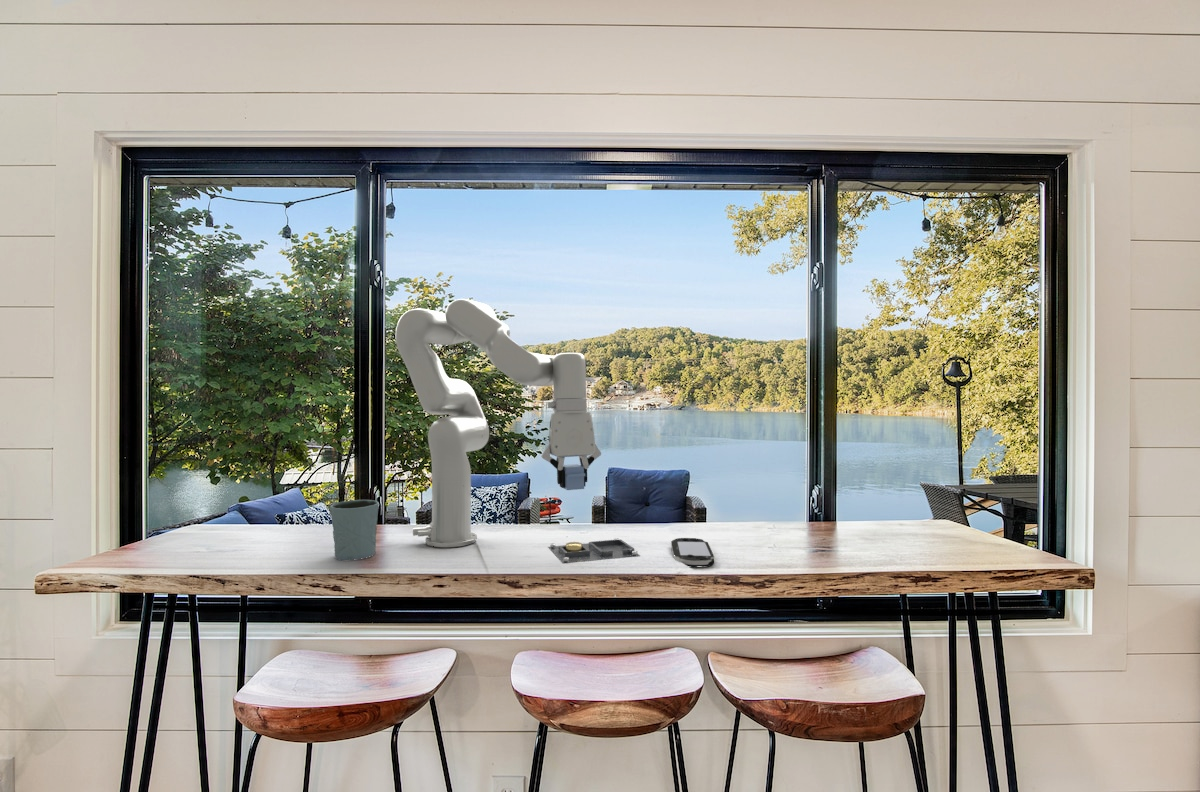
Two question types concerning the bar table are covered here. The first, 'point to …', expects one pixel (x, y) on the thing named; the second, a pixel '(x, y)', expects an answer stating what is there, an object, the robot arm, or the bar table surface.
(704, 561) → the gaming console
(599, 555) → the plate
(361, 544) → the grey-green cup
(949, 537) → the bar table surface
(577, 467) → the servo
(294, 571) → the bar table surface
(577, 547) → the bushing
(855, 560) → the bar table surface
